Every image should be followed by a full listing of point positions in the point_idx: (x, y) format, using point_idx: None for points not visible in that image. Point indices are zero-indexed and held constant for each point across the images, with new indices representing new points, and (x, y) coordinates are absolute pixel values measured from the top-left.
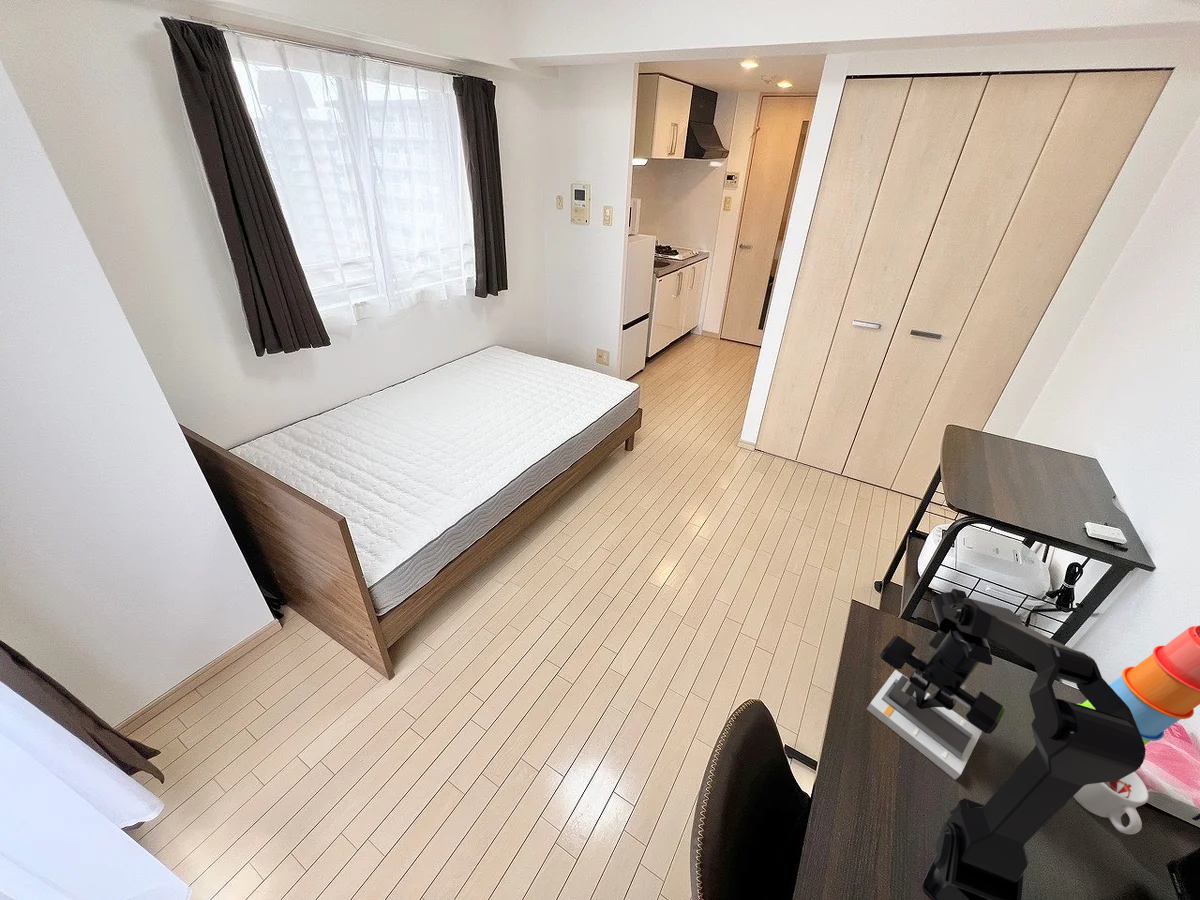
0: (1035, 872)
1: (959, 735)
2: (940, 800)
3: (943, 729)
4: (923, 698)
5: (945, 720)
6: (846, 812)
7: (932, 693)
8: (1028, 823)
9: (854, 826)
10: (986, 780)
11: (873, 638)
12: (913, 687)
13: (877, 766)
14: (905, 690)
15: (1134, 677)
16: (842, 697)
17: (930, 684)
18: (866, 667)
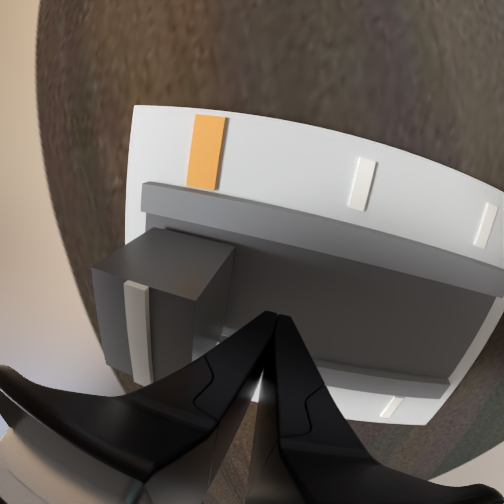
0: (501, 434)
1: (464, 305)
2: (371, 447)
3: (403, 324)
4: (234, 431)
5: (417, 273)
6: (220, 490)
7: (267, 431)
8: None
9: (236, 496)
10: (500, 346)
11: (80, 6)
12: (174, 330)
13: (235, 447)
14: (149, 381)
15: None
16: (97, 335)
17: (191, 489)
18: (84, 160)
